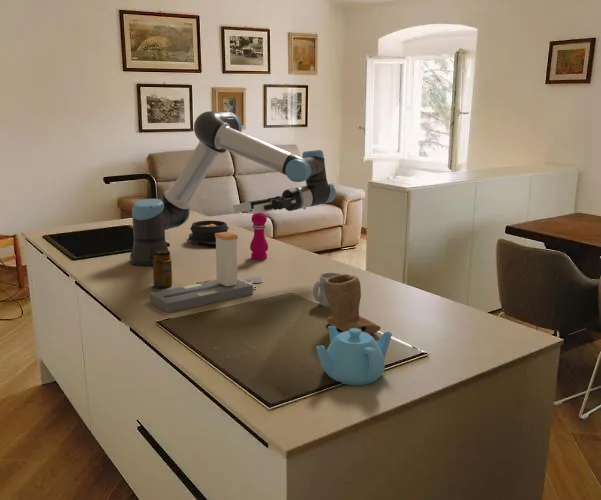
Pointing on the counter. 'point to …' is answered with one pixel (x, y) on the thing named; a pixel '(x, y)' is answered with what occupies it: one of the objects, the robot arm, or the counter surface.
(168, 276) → the condiment
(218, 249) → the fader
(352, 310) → the brown boot
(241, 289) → the console
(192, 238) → the casserole
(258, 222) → the pepper mill
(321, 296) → the cup
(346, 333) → the teapot
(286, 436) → the counter surface
